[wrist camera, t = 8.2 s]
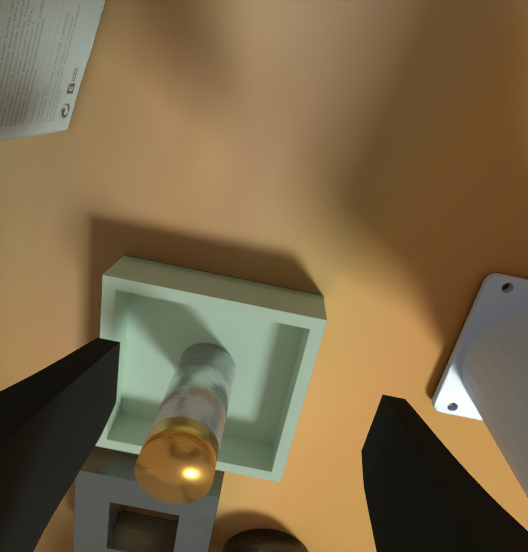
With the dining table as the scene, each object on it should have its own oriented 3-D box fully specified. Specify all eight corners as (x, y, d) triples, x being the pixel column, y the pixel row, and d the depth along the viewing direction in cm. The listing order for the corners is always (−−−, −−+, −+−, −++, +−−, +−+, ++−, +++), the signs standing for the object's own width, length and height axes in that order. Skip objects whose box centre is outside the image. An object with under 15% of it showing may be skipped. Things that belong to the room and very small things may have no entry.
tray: (323, 295, 21) (326, 320, 19) (281, 446, 25) (280, 482, 23) (123, 255, 21) (102, 274, 19) (113, 413, 25) (94, 445, 23)
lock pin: (244, 355, 22) (224, 461, 16) (224, 398, 23) (197, 513, 17) (189, 334, 22) (146, 434, 16) (172, 378, 23) (125, 488, 17)
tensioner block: (339, 484, 26) (344, 527, 23) (299, 595, 30) (300, 641, 28) (94, 436, 26) (72, 474, 23) (89, 554, 30) (70, 597, 28)
